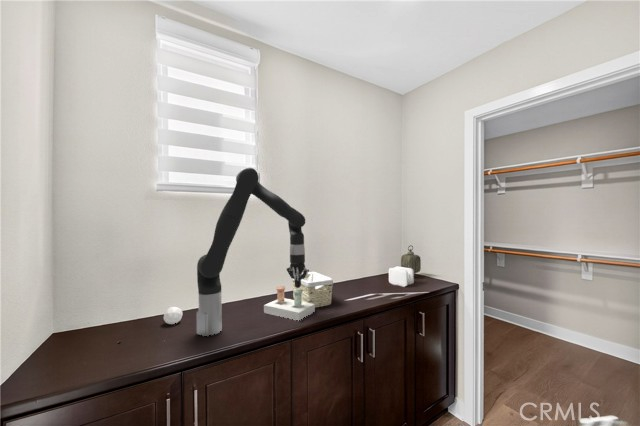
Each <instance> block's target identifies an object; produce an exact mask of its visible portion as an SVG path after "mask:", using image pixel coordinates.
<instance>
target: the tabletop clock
mask: <svg viewBox="0 0 640 426" xmlns="http://www.w3.org/2000/svg"><path fill="white" fill-rule="evenodd" d="M410 247H412V248H410ZM407 250H408V252H407V253H405V254H402V255H401V257H400V267H405V268H411V269H413V271H414V279H415V274H417V273H419V272H420V271H421V270H422V269H421V266H422V265H421V264H422V262H421V261H422V259H421V256H420V255H419V254H415V253H414V251H413V250H414V247H413V245H408V247H407Z"/></svg>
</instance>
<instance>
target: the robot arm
mask: <svg viewBox="0 0 640 426" xmlns="http://www.w3.org/2000/svg"><path fill="white" fill-rule="evenodd" d="M235 181H236V183H235V186H234V189H233V192H232V194H231V196H230V197H229V198H228V200H227V202H226V203H225V205H224V207H223V208H222V211H221V212H220V214H219V217H218V219H217V222H216V225H215V229H214V233H213V240H212V243H211V245H210V248H209V249H208V251H207V253H206V254H204V255H202V256H201V257H200V258H199V259H198V261H197V263H196V264H197V265H196V272H197V273H196V277H197V288H198V292H197V293H198V310H197V311H196V335H200V336H201V335H202V337H204V336H207V337H210V336H209V335H211V336H215V335H217V334H219V333H221V332H222V329H223V328H222V327H223V324H222V323H223V322H222V321H223V320H222V319H223V318H222V317H223V315H222V312H223V311H222V310H223V309H222V307H223V306H222V283H221V277H220V273H221V272H222V271H223V268H224V265H225V261H226V258H227V255H228V251H229V249H230V246H231V245H232V242H233V240H234V238H235V236H236V233H237V232H238V229H239V227H240V224H241V223H242V220H243V216H244V214H245V211H246V208H247V206H248V205H247V204H248V202H249V199H250V197H251V195H253V196H254V197H256V198H257V199H258V200H260V201H261V202H263V203H264V205H266V206H267V207H268V208H270V210H272V211H274V212H275V214H277V215H279V216H280V217H281V218H283V219H285V220H287V221H288V222H287V224H288V230H289V241H290V242H289V243H290V244H289V263H290V265H289V267H288V268H287V267H286V271H287V273H288V275H289V277H290V279H291V280H292V279H294V280H295V287H296V288H299V287H300V286H301V280H302V279H303V280H305V279H306V278H305V276H306V275H307V274H308V272H310V269H307V268H306V264H305V262H306V255H305V254H306V252H305V251H306V249H305V236H304V233H303V230H302V228H303V226H305V224H306V218H305V215H304V214H302V213H301V212H300V211H298V210H297V209H295V208H294V207H292V206H291V205H290V204H288V203H287V201H285V200H284V199H283V198H282V197H280V196H279V195H277V194H276V193H274V192H272V191H271V190H269V189H268V188H266V187H264V185H262V183H260V182H259V174H258V172H257V170H256V169H255V168H252V167H245V168H242V169H240V171H239V172H238V173H237V175H236V178H235ZM302 273H303V274H302ZM220 331H221V332H220ZM214 334H215V335H214Z"/></svg>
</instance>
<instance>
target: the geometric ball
mask: <svg viewBox="0 0 640 426" xmlns="http://www.w3.org/2000/svg"><path fill="white" fill-rule="evenodd" d="M182 317H183V310H182V309H181V308H180V307H177V306H170V307H168V309H166V310H165V312H164V314H163V320H164V322H165V323H166V324H168V325H176V324H177V323H179V322H180V321H181V320H182ZM175 323H176V324H175Z"/></svg>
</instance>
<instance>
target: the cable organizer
mask: <svg viewBox="0 0 640 426" xmlns="http://www.w3.org/2000/svg"><path fill="white" fill-rule="evenodd" d="M414 276H415V274H414V271H413V269H411V268H405V267H401V266H398V265H397V266H394V267H389V268H388V282H389V284H391V285H392V286H399V287H403V288H405V287H408V285H409V286H410V285H413V284H414V282H415V278H414Z"/></svg>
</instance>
